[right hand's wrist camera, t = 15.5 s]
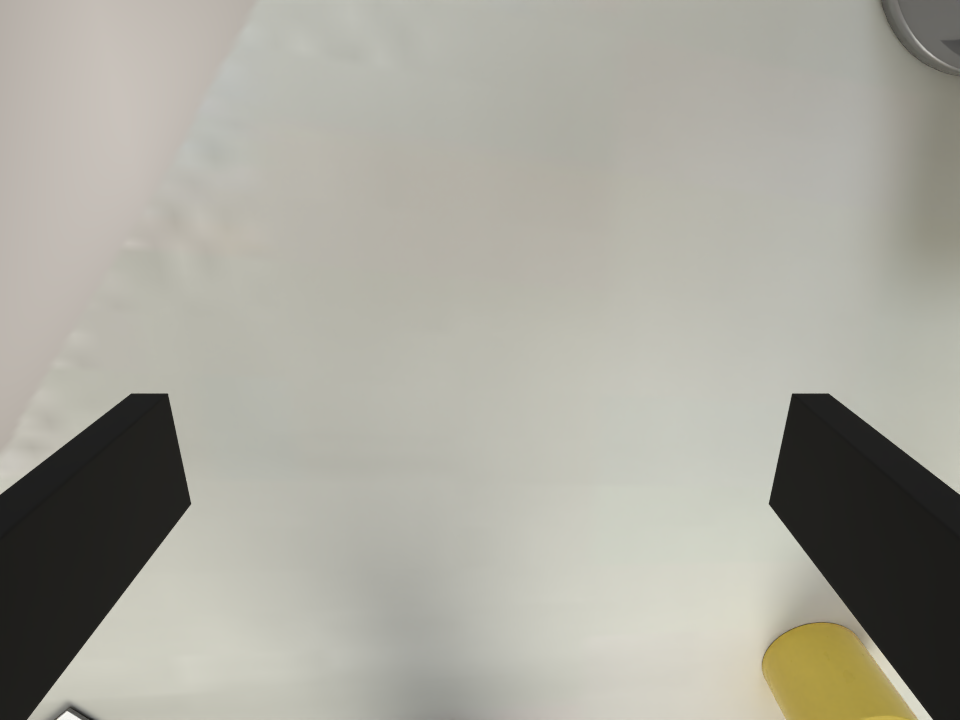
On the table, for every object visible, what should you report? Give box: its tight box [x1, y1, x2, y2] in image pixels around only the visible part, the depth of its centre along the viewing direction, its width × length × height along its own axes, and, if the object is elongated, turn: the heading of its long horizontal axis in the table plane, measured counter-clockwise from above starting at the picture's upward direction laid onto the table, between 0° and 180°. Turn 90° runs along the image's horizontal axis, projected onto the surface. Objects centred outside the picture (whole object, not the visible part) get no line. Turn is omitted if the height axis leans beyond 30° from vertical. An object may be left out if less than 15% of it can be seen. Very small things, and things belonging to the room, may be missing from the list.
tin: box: [762, 623, 918, 720], centre depth 50 cm, size 9×9×9 cm
